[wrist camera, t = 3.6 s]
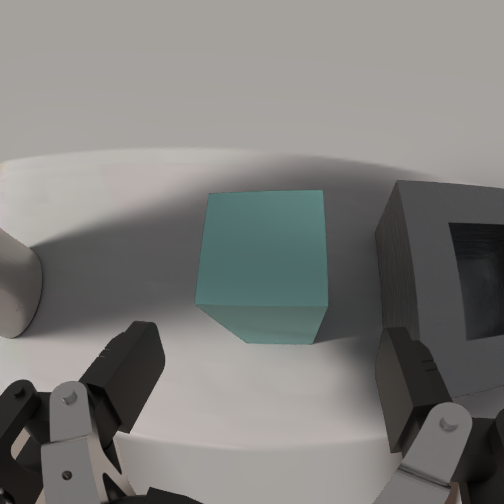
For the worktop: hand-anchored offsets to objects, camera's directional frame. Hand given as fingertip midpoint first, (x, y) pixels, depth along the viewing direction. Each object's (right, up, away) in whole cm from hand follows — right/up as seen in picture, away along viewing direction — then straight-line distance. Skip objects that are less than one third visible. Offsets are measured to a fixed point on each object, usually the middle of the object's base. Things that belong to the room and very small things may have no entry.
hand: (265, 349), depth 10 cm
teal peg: (+1, 0, +9) cm, 9 cm away
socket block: (+13, 0, +7) cm, 15 cm away
